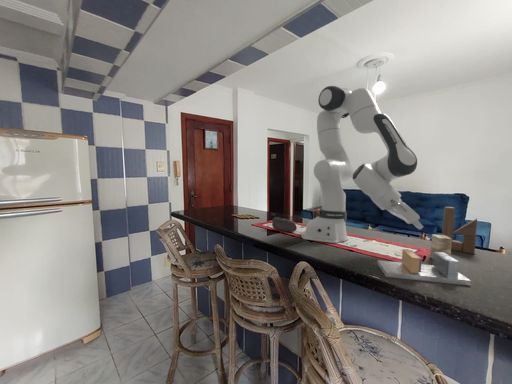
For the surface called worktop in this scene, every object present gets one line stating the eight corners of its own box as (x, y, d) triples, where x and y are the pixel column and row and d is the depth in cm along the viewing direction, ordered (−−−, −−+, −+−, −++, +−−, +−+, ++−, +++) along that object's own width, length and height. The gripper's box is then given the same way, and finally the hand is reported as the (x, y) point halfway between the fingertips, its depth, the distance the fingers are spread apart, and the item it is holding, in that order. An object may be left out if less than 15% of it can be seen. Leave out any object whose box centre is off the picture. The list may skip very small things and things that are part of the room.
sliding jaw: (411, 272, 70) (412, 257, 70) (401, 262, 78) (402, 249, 77) (420, 273, 69) (422, 258, 69) (410, 263, 77) (411, 249, 77)
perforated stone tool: (298, 232, 125) (299, 219, 124) (293, 234, 121) (294, 221, 120) (276, 227, 135) (276, 216, 134) (271, 229, 131) (271, 217, 130)
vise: (386, 276, 71) (387, 256, 71) (377, 264, 81) (378, 246, 80) (470, 285, 66) (472, 263, 65) (450, 271, 75) (452, 252, 75)
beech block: (437, 261, 83) (438, 237, 83) (430, 257, 88) (432, 234, 88) (450, 263, 82) (451, 238, 82) (442, 258, 87) (444, 235, 87)
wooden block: (474, 254, 92) (477, 210, 90) (440, 248, 99) (443, 207, 98) (474, 252, 94) (478, 209, 93) (441, 246, 102) (444, 206, 100)
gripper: (404, 195, 77) (436, 225, 76) (386, 191, 97) (411, 215, 95) (389, 208, 79) (420, 237, 77) (374, 201, 98) (399, 225, 97)
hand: (415, 225), depth 86 cm, fingers open, 8 cm apart
